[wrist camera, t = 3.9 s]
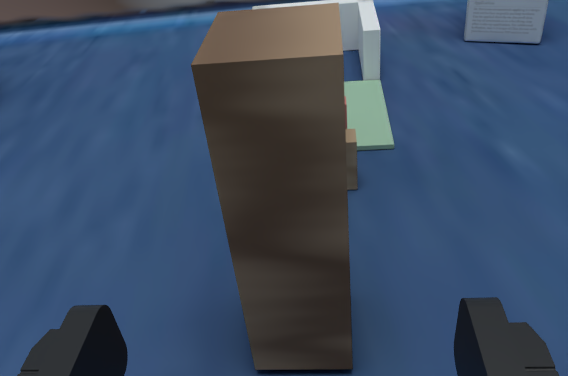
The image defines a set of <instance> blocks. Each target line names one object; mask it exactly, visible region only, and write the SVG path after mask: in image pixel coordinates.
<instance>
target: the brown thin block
mask: <svg viewBox="0 0 568 376" xmlns="http://www.w3.org/2000/svg"><path fill="white" fill-rule="evenodd" d="M191 67H192V72H193V77H194V81H195V86H196V91H197V96H198V100H199V105H200V110H201V115H202V119H203V124H204V129H205V133H206V138H207V143H208V148H209V152H210V157H211V162H212V167H213V171H214V176H215V181H216V186H217V190H218V195H219V200H220V205H221V209H222V214H223V219H224V224H225V228H226V233H227V238H228V243H229V247H230V252H231V257H232V262H233V266H234V271H235V276H236V281H237V285H238V290H239V295H240V300H241V304H242V309H243V314H244V319H245V323H246V328H247V333H248V338H249V342H250V347H251V352H252V357H253V361H254V366H255V370H302V369H353V364H352V331H351V297H350V264H349V231H348V198H347V164H346V131H345V129H347V104H346V96H344V64H343V46H342V35H341V23H340V12H339V3H328V4H315V5H303V6H290V7H277V8H265V9H252V10H240V11H227V12H218V14H217V16H216V17H215V19H214V21H213V23H212V25H211V27H210V29H209V31H208V33H207V35H206V37H205V39H204V41H203V43H202V45H201V47H200V48H199V50H198V52H197V54H196V56H195V58H194V60H193V62H192V64H191Z"/></svg>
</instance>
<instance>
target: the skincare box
mask: <svg viewBox="0 0 568 376" xmlns="http://www.w3.org/2000/svg"><path fill="white" fill-rule="evenodd" d="M547 5H548V0H468V2H467V12H466V22H465V32H464V40H465V41H481V42H509V43H534V44H538V43H540V41H541V37H542V32H543V27H544V21H545V16H546V11H547Z"/></svg>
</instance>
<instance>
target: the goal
mask: <svg viewBox="0 0 568 376" xmlns="http://www.w3.org/2000/svg"><path fill="white" fill-rule="evenodd" d="M328 3H339V12H340V23H341V35H342V46H343V51H346V50H359V56H360V63H361V69H362V76H363V81H365V80H380V26H379V22H378V19H377V15H376V11H375V7H374V4H373V0H326V1H314V2H301V3H289V4H276V5H264V6H253V8H252V9H265V8H277V7H290V6H303V5H315V4H328Z"/></svg>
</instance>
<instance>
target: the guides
mask: <svg viewBox="0 0 568 376" xmlns="http://www.w3.org/2000/svg"><path fill="white" fill-rule="evenodd" d="M345 131H346V164H347V190H354V189H357V140H356V130H355V129H345Z"/></svg>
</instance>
